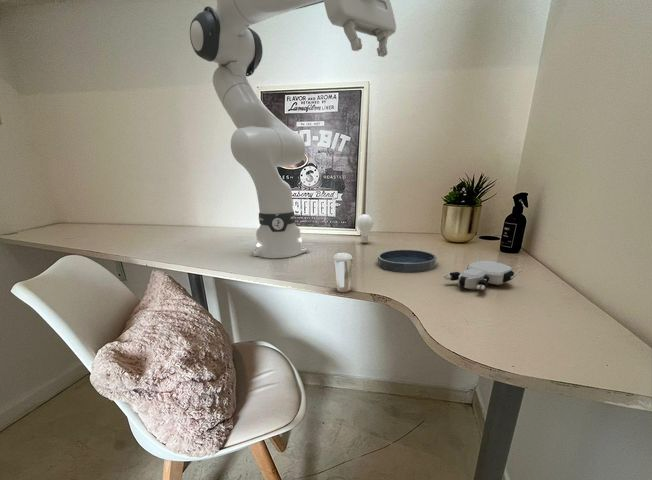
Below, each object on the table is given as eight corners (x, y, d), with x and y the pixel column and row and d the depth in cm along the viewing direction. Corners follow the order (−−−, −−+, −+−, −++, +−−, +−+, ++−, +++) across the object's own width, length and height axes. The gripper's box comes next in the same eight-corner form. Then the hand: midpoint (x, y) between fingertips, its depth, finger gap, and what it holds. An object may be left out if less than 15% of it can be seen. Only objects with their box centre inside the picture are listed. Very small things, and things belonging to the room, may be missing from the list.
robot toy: (481, 301, 74) (521, 284, 81) (484, 282, 72) (524, 266, 79) (439, 287, 84) (478, 272, 91) (440, 270, 82) (479, 256, 89)
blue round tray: (371, 259, 108) (371, 251, 107) (421, 255, 111) (421, 248, 110) (388, 274, 92) (389, 265, 91) (446, 269, 95) (447, 261, 94)
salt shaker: (354, 293, 79) (354, 252, 75) (332, 292, 80) (330, 251, 76) (357, 287, 83) (357, 247, 79) (336, 286, 84) (335, 247, 80)
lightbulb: (353, 244, 130) (353, 214, 125) (362, 241, 134) (362, 212, 130) (367, 245, 126) (368, 215, 122) (375, 242, 131) (376, 213, 127)
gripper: (374, 0, 80) (386, 65, 84) (312, -25, 67) (330, 54, 70) (395, -18, 75) (407, 51, 79) (334, -49, 62) (352, 37, 66)
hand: (370, 52), depth 75 cm, fingers open, 8 cm apart
